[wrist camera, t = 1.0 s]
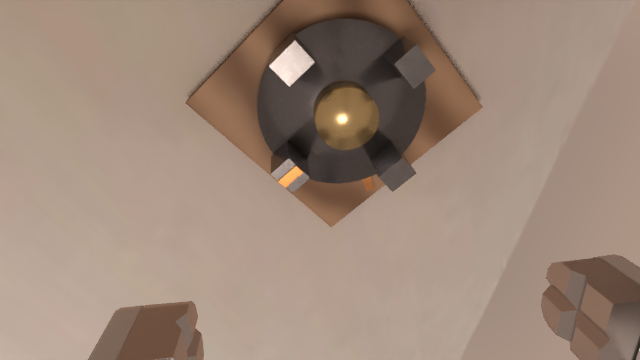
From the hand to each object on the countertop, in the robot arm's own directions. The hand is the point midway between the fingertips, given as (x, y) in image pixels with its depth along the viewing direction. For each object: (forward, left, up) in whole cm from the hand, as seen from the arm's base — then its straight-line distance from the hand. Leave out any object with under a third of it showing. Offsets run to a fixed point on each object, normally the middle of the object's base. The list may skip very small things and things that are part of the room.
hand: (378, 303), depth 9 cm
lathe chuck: (+1, +7, -32) cm, 33 cm away
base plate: (+1, +7, -34) cm, 35 cm away
